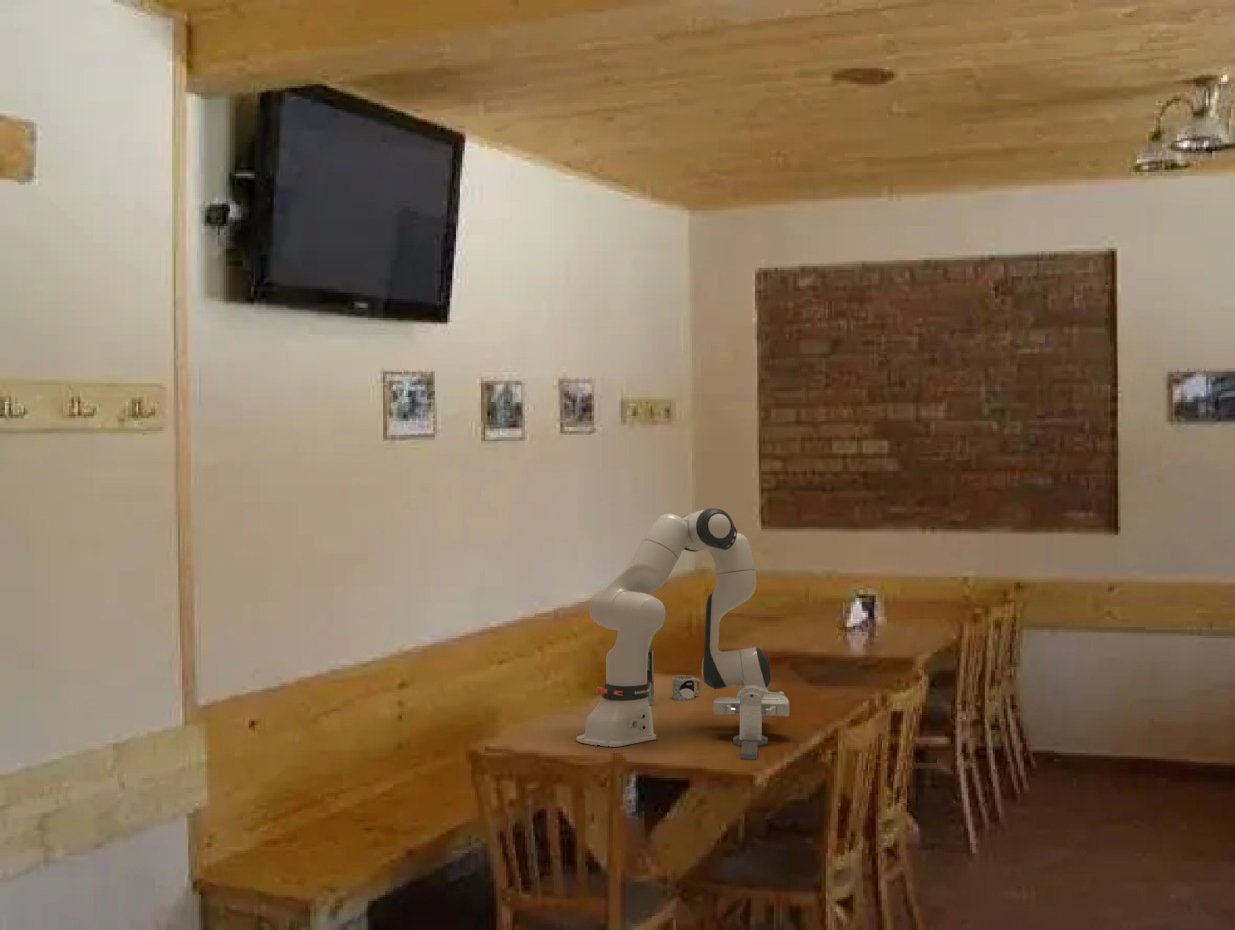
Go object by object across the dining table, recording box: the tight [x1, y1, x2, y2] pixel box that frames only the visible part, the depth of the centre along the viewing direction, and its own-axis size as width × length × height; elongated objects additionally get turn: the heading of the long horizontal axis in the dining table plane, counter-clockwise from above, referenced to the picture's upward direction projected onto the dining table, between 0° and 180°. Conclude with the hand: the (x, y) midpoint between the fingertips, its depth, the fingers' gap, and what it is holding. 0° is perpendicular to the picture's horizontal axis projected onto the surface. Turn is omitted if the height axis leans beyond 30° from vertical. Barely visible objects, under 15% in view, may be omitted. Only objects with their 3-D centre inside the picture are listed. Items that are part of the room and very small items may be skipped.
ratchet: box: [732, 734, 769, 760], centre depth 392 cm, size 24×9×6 cm, turn 174°
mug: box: [671, 674, 702, 702], centre depth 465 cm, size 10×7×7 cm, turn 126°
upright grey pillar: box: [739, 697, 763, 741], centre depth 399 cm, size 6×6×10 cm
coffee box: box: [647, 648, 655, 706], centre depth 456 cm, size 9×6×16 cm
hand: (750, 712), depth 398 cm, fingers open, 8 cm apart
